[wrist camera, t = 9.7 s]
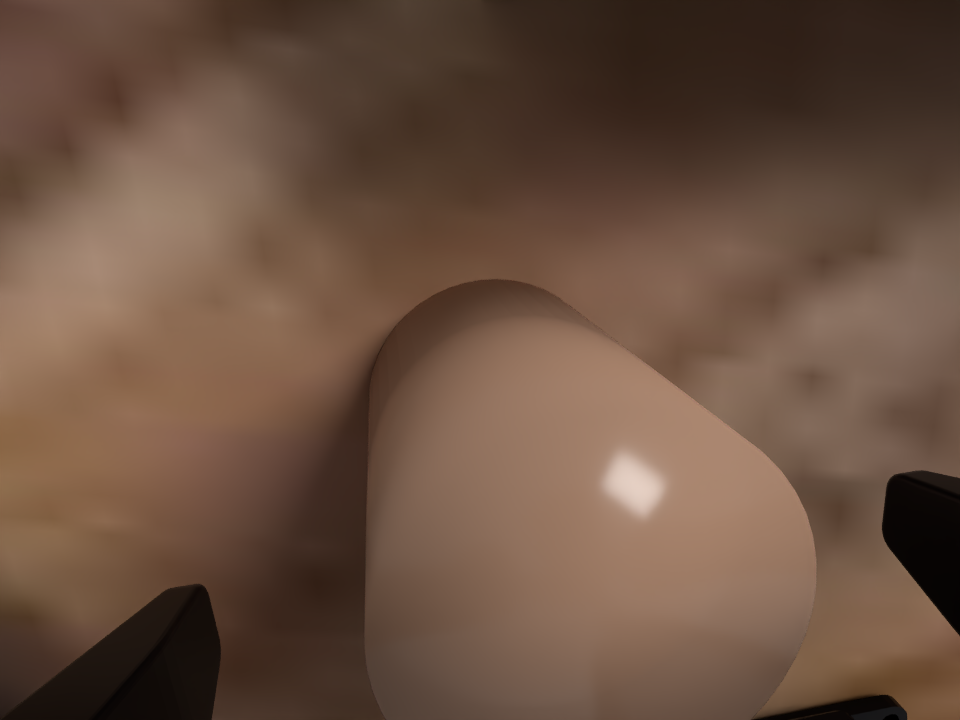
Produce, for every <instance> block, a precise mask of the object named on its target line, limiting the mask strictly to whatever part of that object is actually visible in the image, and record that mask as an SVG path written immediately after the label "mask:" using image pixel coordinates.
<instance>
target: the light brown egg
mask: <svg viewBox="0 0 960 720" xmlns="http://www.w3.org/2000/svg"><path fill="white" fill-rule="evenodd" d="M816 567H817V561H816V553H815V546H814V539H813V534H812V531H811V528H810V524H809V521H808V518H807V514H806V512H805V510H804V508H803V506H802V504H801V502H800V499H799V497H798V495H797V493H796V491H795V490H794V488H793V487H792V485H791V484H790V483H789V481H788V480H787V478H786V477H785V476H784V474H783V473H782V471H781V470H780V469H779V468H778V467H777V466H776V465H775V464H774V463H773V462H772V461H771V460H770V459H769V458H768V457H767V456H766V455H765V454H764V453H763V452H762V451H761V450H759V449H758V448H757V447H756V446H754V445H753V444H752V443H750V442H749V441H748V440H746V439H745V438H744V437H742V436H741V435H740V434H738V433H737V432H736V431H734V430H733V429H732V428H730V427H729V426H728V425H726V424H725V423H724V422H723V421H721V420H720V419H719V418H717V417H716V416H715V415H713V414H712V413H711V412H709V411H708V410H707V409H705V408H704V407H703V406H701V405H700V404H699V403H697V402H696V401H695V400H694V399H692V398H691V397H690V396H688V395H687V394H686V393H684V392H683V391H682V390H680V389H679V388H678V387H676V386H675V385H674V384H672V383H671V382H670V381H668V380H667V379H666V378H664V377H663V376H662V375H661V374H659V373H658V372H657V371H655V370H654V369H653V368H651V367H650V366H649V365H647V364H646V363H645V362H643V361H642V360H641V359H639V358H638V357H637V356H635V355H634V354H633V353H632V352H630V351H629V350H628V349H626V348H625V347H624V346H622V345H621V344H620V343H618V342H617V341H616V340H614V339H613V338H612V337H610V336H609V335H608V334H606V333H605V332H604V331H602V330H601V329H600V328H599V327H597V326H596V325H595V324H593V323H592V322H591V321H589V320H588V319H587V318H585V317H584V316H583V315H581V314H580V313H579V312H577V311H576V310H575V309H573V308H572V307H571V306H569V305H568V304H567V303H565V302H564V301H563V300H561V299H560V298H559V297H557V296H555V295H553V294H551V293H550V292H548V291H546V290H544V289H541V288H539V287H536V286H533V285H530V284H527V283H522V282H518V281H512V280H501V279H492V280H478V281H473V282H467V283H463V284H460V285H457V286H454V287H450V288H448V289H446V290H443V291H441V292H439V293H437V294H435V295H433V296H431V297H430V298H428V299H427V300H425V301H423V302H422V303H420V304H419V305H418V306H416V307H415V308H414V309H413V310H412V311H410V312H409V313H408V314H407V315H406V316H405V317H404V318H403V319H402V320H401V321H400V322H399V323H398V325H397V326H396V327H395V328H394V329H393V331H392V332H391V334H390V335H389V337H388V338H387V339H386V341H385V343H384V345H383V347H382V349H381V351H380V353H379V354H378V357H377V360H376V363H375V365H374V368H373V372H372V377H371V382H370V390H369V415H368V466H367V516H366V567H365V617H364V646H365V657H366V668H367V672H368V675H369V679H370V683H371V687H372V691H373V694H374V696H375V698H376V701H377V703H378V705H379V707H380V710H381V712H382V714H383V716H384V717H385V719H386V720H751V719H752V718H753V717H754V716H755V714H756V713H757V712H758V711H759V710H760V709H761V708H762V707H763V706H764V705H765V703H766V702H767V701H768V700H769V698H770V697H771V695H772V694H773V693H774V691H775V690H776V689H777V687H778V686H779V685H780V683H781V682H782V680H783V679H784V677H785V675H786V673H787V672H788V670H789V668H790V666H791V665H792V663H793V661H794V660H795V658H796V655H797V653H798V651H799V648H800V646H801V644H802V641H803V639H804V637H805V634H806V631H807V627H808V624H809V621H810V617H811V614H812V610H813V604H814V597H815V591H816Z"/></svg>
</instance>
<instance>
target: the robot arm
mask: <svg viewBox="0 0 960 720" xmlns="http://www.w3.org/2000/svg"><path fill="white" fill-rule="evenodd" d="M882 533H883V537H884V540H885V542H886V544H887V546H888V547H889V549H890V550H891V551H892V552H893V554H894V555H895V556H896V557H897V559H898V560H899V561H900V562H901V564H902V565H903V566H904V567H905V569H906V570H907V571H908V572H909V574H910V575H911V576H912V577H913V579H914V580H915V581H916V582H917V584H918V585H919V586H920V587H921V589H922V590H923V591H924V592H925V594H926V595H927V596H928V597H929V599H930V600H931V601H932V602H933V604H934V605H935V606H936V607H937V609H938V610H939V611H940V612H941V614H942V615H943V616H944V617H945V619H946V620H947V621H948V622H949V624H950V625H951V626H952V627H953V628H954V630H955V631H956V632H957V633H958V634H959V636H960V478H957V477H952V476H947V475H943V474H938V473H934V472H929V471H923V470H921V471H912V472H906V473H900V474H896V475H894V476H892V477H891V478H890V479H889V481H888V483H887V487H886V496H885V504H884V513H883V522H882ZM220 658H221V647H220V639H219V635H218V631H217V627H216V622H215V618H214V614H213V610H212V606H211V602H210V598H209V594H208V592H207V590H206V588H205V587H204V586H203V585H201V584H193V585H187V586H180V587H174V588H170V589H167V590H165V591H164V592H163V593H161V594H160V595H159V596H157V597H156V598H155V599H154V600H152V601H151V602H150V603H148V604H147V605H146V606H145V607H143V608H142V609H141V610H139V611H138V612H137V613H136V614H134V615H133V616H132V617H130V618H129V619H128V620H127V621H125V622H124V623H123V624H121V625H120V626H119V627H118V628H116V629H115V630H114V631H112V632H111V633H110V634H109V635H107V636H106V637H105V638H103V639H102V640H101V641H100V642H98V643H97V644H96V645H94V646H93V647H92V648H91V649H89V650H88V651H87V652H85V653H84V654H83V655H82V656H80V657H79V658H78V659H76V660H75V661H74V662H73V663H71V664H70V665H69V666H67V667H66V668H65V669H64V670H62V671H61V672H60V673H58V674H57V675H56V676H55V677H53V678H52V679H51V680H49V681H48V682H47V683H46V684H44V685H43V686H42V687H40V688H39V689H38V690H37V691H35V692H34V693H33V694H31V695H30V696H29V697H28V698H26V699H25V700H24V701H23V702H21V703H20V704H19V705H17V706H16V707H15V708H14V709H12V710H11V711H10V712H8V713H7V714H6V715H5V716H3V717H2V718H1V719H0V720H212V713H213V706H214V700H215V693H216V686H217V680H218V673H219V666H220ZM760 720H907V713H906V711H905V710H904V709H903V708H902V707H901V706H900V704H899V703H898V702H897V701H896V700H895V699H894V698H893V697H891V696H889V695H879V696H874V697H869V698H864V699H859V700H854V701H849V702H844V703H840V704H835V705H830V706H825V707H820V708H815V709H810V710H805V711H800V712H795V713H790V714H785V715H780V716H775V717H770V718H765V719H760Z"/></svg>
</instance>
